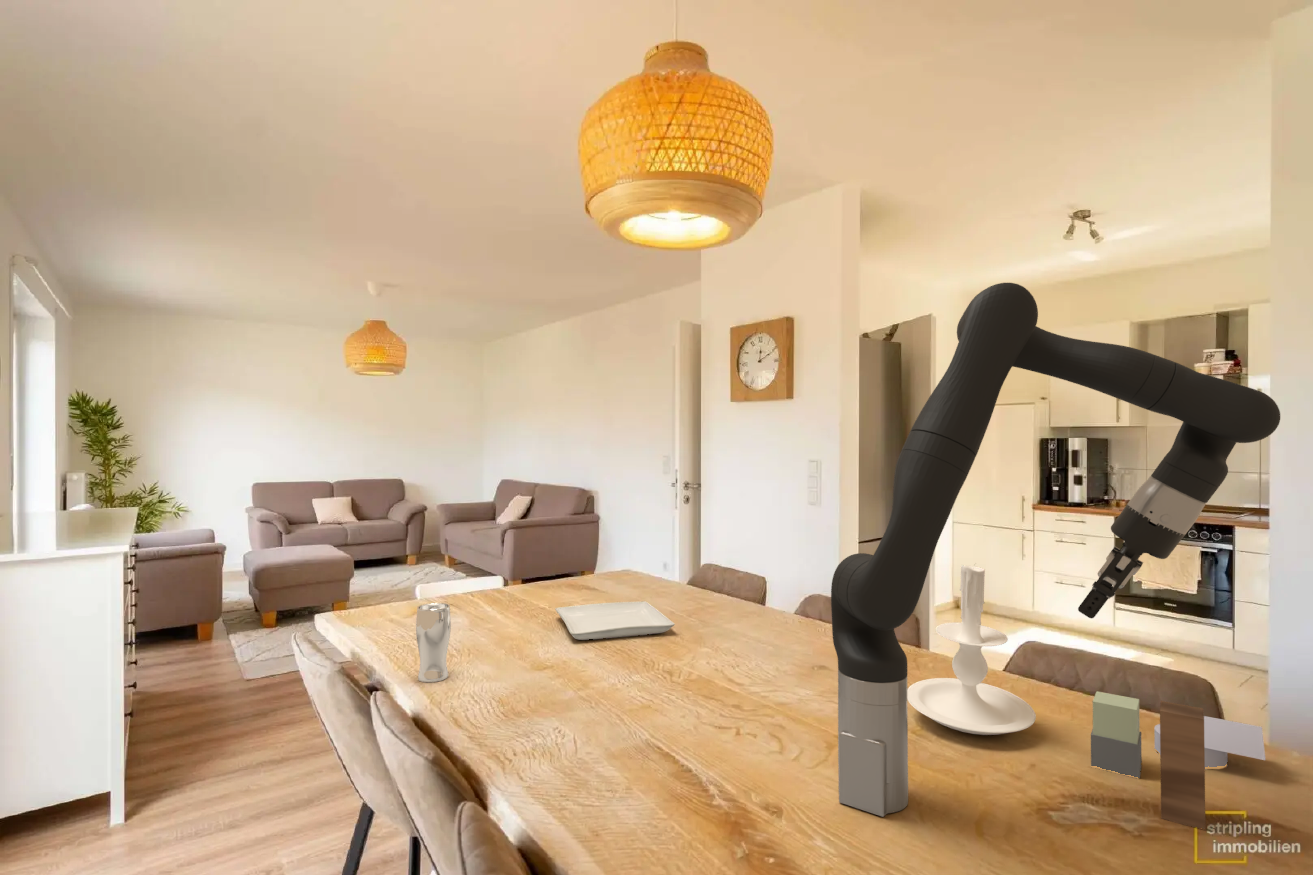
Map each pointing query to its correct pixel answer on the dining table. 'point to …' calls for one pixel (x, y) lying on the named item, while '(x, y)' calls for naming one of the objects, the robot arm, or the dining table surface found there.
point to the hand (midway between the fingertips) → (1088, 608)
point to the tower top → (1116, 717)
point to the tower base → (1116, 755)
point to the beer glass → (433, 640)
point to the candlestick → (971, 674)
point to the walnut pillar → (1182, 764)
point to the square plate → (613, 620)
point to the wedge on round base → (1226, 740)
